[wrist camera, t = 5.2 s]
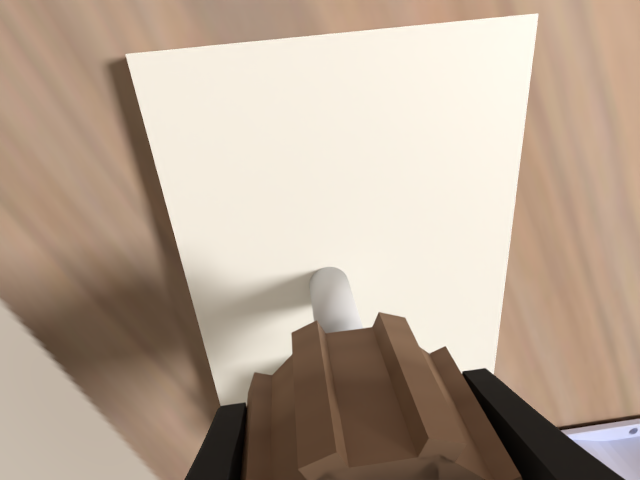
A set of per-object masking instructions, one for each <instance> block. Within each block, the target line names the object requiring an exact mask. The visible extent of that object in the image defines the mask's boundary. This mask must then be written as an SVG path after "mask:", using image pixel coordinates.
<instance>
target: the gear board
mask: <svg viewBox="0 0 640 480" xmlns="http://www.w3.org/2000/svg"><path fill="white" fill-rule="evenodd" d="M537 21H538V14H528V15H518V16H508V17H498V18H487V19H477V20H467V21H457V22H447V23H437V24H426V25H416V26H406V27H396V28H386V29H376V30H365V31H355V32H345V33H335V34H325V35H315V36H304V37H294V38H284V39H274V40H264V41H254V42H243V43H233V44H223V45H213V46H203V47H193V48H182V49H172V50H162V51H152V52H142V53H132V54H125V55H126V58H127V62H128V66H129V69H130V73H131V77H132V81H133V84H134V88H135V92H136V95H137V99H138V103H139V106H140V110H141V114H142V117H143V121H144V125H145V128H146V132H147V136H148V140H149V143H150V147H151V151H152V154H153V158H154V162H155V165H156V169H157V173H158V176H159V180H160V184H161V188H162V191H163V195H164V199H165V202H166V206H167V210H168V213H169V217H170V221H171V224H172V228H173V232H174V235H175V239H176V243H177V247H178V250H179V254H180V258H181V261H182V265H183V269H184V272H185V276H186V280H187V283H188V287H189V291H190V295H191V298H192V302H193V306H194V309H195V313H196V317H197V320H198V324H199V328H200V331H201V335H202V339H203V343H204V346H205V350H206V354H207V357H208V361H209V365H210V368H211V372H212V376H213V379H214V383H215V387H216V390H217V394H218V398H219V402H220V405H221V406H223V405H230V404H237V403H244V402H246V406H247V397H248V391H249V388H250V384H251V381H252V378H253V375H254V372H256V373H262V374H268V375H273V374H274V373H275V372H276V371H277V370H278V368H279V367H280V366H281V365H282V364H283V363H284V362H285V361H286V360H287V359H288V358H289V357H290V356H291V355H292V336H291V333H292V332H294V331H296V330H298V329H300V328H302V327H304V326H306V325H308V324H310V323H312V322H314V321H316V320H317V321H318V322H319V324H320V325H321V327H322V328H323V330H324V331H325V333H332V332H339V331H347V330H354V329H362V328H369V327H372V326H373V324H374V322H375V320H376V317H377V315H378V313H379V312H381V313H386V314H391V315H396V316H400V317H405V318H406V320H407V322H408V324H409V326H410V328H411V330H412V332H413V335H414V337H415V339H416V341H417V343H418V345H419V347H421V348H422V349H423V350H425V351H426V352H428V353H431V352H434V351H436V350H438V349H440V348H442V347H444V346H446V348H447V349H448V351H449V353H450V354H451V356H452V358H453V360H454V361H455V363H456V365H457V366H458V368H459V370H460V372H461V373H462V371H468V370H475V369H482V368H486V369H487V370H489V371H490V372H491V373H492V374H493V375H494V367H495V359H496V351H497V343H498V335H499V327H500V319H501V311H502V303H503V295H504V287H505V279H506V271H507V263H508V255H509V247H510V239H511V231H512V223H513V214H514V206H515V198H516V190H517V182H518V174H519V166H520V158H521V150H522V142H523V134H524V126H525V118H526V110H527V102H528V94H529V86H530V78H531V70H532V62H533V54H534V45H535V37H536V29H537Z"/></svg>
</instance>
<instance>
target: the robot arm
mask: <svg viewBox="0 0 640 480" xmlns="http://www.w3.org/2000/svg"><path fill="white" fill-rule="evenodd" d="M462 375H463V377H464V379H465V380H466V382H467V384H468V385H469V387H470V389H471V391H472V392H473V394H474V396H475V397H476V399H477V401H478V403H479V404H480V406H481V408H482V410H483V411H484V413H485V415H486V416H487V418H488V420H489V422H490V423H491V425H492V427H493V428H494V430H495V432H496V434H497V435H498V437H499V439H500V440H501V442H502V444H503V446H504V447H505V449H506V451H507V453H508V454H509V456H510V458H511V459H512V461H513V463H514V465H515V466H516V468H517V470H518V471H519V473H520V475H521V477H522V479H523V480H640V418H639V419H633V420H626V421H620V422H613V423H606V424H600V425H593V426H587V427H580V428H573V429H567V430H559V429H558V428H557V427H555V426H554V425H553V424H552V423H550V422H549V421H548V420H547V419H545V418H544V417H543V416H542V415H541V414H539V413H538V412H537V411H536V410H535V409H533V408H532V407H531V406H530V405H529V404H527V403H526V402H525V401H524V400H523V399H522V398H520V397H519V396H518V395H517V394H516V393H515V392H513V391H512V390H511V389H510V388H509V387H507V386H506V385H505V384H504V383H503V382H502V381H500V380H499V379H498V378H497V377H496V376H495V375H493V374H492V373H491V372H490V371H489V370H487V369H486V368H482V369H475V370H468V371H462ZM246 411H247V406H246V402H244V403H237V404H230V405H223V406H221V407H220V408H219V409H218V410H217V412H216V415H215V417H214V419H213V422H212V424H211V426H210V429H209V431H208V433H207V435H206V437H205V440H204V442H203V444H202V446H201V448H200V450H199V452H198V454H197V456H196V458H195V460H194V462H193V464H192V466H191V468H190V470H189V472H188V474H187V476H186V478H185V480H240V476H241V464H242V453H243V445H244V434H245V423H246Z"/></svg>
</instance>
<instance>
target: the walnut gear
mask: <svg viewBox="0 0 640 480" xmlns="http://www.w3.org/2000/svg"><path fill="white" fill-rule="evenodd" d="M291 336H292V355H291V356H290V357H289V358H288V359H287V360H286V361H285V362H284V363H283V364H282V365H281V366H280V367H279V368H278V370H277V371H276V372H275V373H274V374H273V375H268V374H262V373H256V372H254V375H253V378H252V381H251V384H250V388H249V391H248V397H247V411H246V423H245V434H244V445H243V453H242V464H241V476H240V480H523V479H522V477H521V475H520V473H519V471H518V470H517V468H516V466H515V465H514V463H513V461H512V459H511V458H510V456H509V454H508V453H507V451H506V449H505V447H504V446H503V444H502V442H501V440H500V439H499V437H498V435H497V434H496V432H495V430H494V428H493V427H492V425H491V423H490V422H489V420H488V418H487V416H486V415H485V413H484V411H483V410H482V408H481V406H480V404H479V403H478V401H477V399H476V397H475V396H474V394H473V392H472V391H471V389H470V387H469V385H468V384H467V382H466V380H465V379H464V377H463V375H462V373H461V372H460V370H459V368H458V366H457V365H456V363H455V361H454V360H453V358H452V356H451V354H450V353H449V351H448V349H447V348H446V346H444V347H442V348H440V349H438V350H436V351H434V352H431V353H428V352H426V351H425V350H423V349H422V348H421V347H419V345H418V343H417V341H416V339H415V337H414V335H413V332H412V330H411V328H410V326H409V324H408V322H407V320H406V318H405V317H400V316H396V315H391V314H386V313H381V312H379V313H378V315H377V317H376V320H375V322H374V324H373V326H372V327H369V328H362V329H354V330H347V331H339V332H332V333H325V331H324V330H323V328H322V327H321V325H320V324H319V322H318V321H317V320H316V321H314V322H312V323H310V324H308V325H306V326H304V327H302V328H300V329H298V330H296V331H294V332H292V333H291Z"/></svg>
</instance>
